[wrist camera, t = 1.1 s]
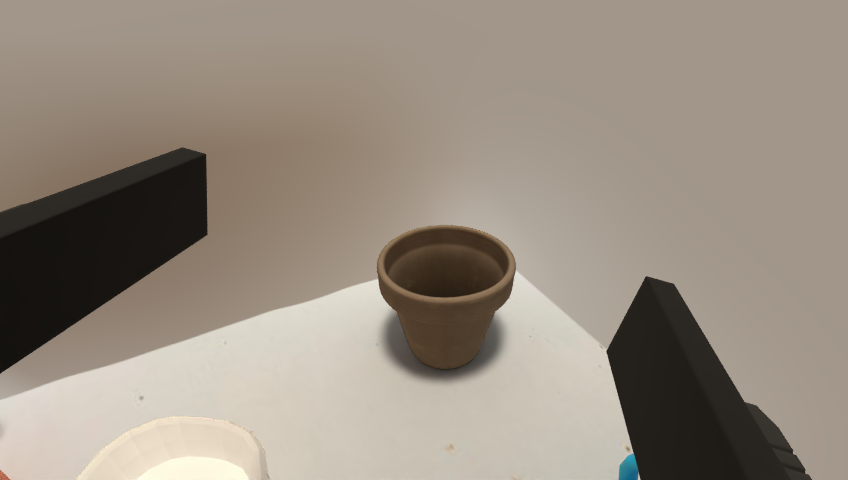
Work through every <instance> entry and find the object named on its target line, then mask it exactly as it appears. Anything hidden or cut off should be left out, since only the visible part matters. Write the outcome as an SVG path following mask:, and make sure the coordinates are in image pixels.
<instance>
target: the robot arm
mask: <svg viewBox="0 0 848 480" xmlns="http://www.w3.org/2000/svg"><path fill="white" fill-rule="evenodd" d="M206 181H207V179H206V154H204V153H200V152H197V151H193V150H190V149H186V148H180V149H177V150H174V151H171V152H169V153H166V154H163V155H160V156H158V157H155V158H152V159H149V160H147V161H144V162H141V163H139V164H135V165H133V166H130V167H127V168H124V169H122V170H119V171H116V172H113V173H111V174H108V175H105V176H102V177H100V178H97V179H94V180H91V181H89V182H86V183H83V184H80V185H77V186H75V187H72V188H69V189H66V190H64V191H61V192H58V193H55V194H53V195H50V196H47V197H44V198H42V199H39V200H36V201H33V202H30V203H27V204H22V205H19V206H16V207H13V208H10V209H8V210H5V211H2V212H0V373H2V372H3V371H5V370H6V369H8V368H9V367H11V366H12V365H14V364H15V363H17V362H18V361H20V360H21V359H23V358H24V357H26V356H27V355H29V354H30V353H32V352H33V351H35V350H36V349H38V348H39V347H41V346H42V345H43V344H45V343H47V342H48V341H50V340H51V339H53V338H54V337H56V336H57V335H58V334H60V333H61V332H63V331H64V330H66V329H67V328H69V327H70V326H72V325H73V324H75V323H76V322H78V321H79V320H81V319H82V318H84V317H85V316H87V315H88V314H90V313H91V312H93V311H94V310H96V309H97V308H99V307H100V306H102V305H103V304H105V303H106V302H108V301H109V300H111V299H112V298H114V297H115V296H117V295H118V294H120V293H121V292H123V291H124V290H126V289H127V288H129V287H130V286H131V285H133V284H135V283H136V282H138V281H139V280H141V279H142V278H144V277H145V276H146V275H148V274H150V273H151V272H152V271H154V270H155V269H157V268H158V267H160V266H161V265H163V264H164V263H166V262H167V261H169V260H170V259H172V258H173V257H175V256H176V255H178V254H179V253H181V252H182V251H184V250H185V249H187V248H188V247H190V246H191V245H193V244H194V243H196V242H197V241H199V240H200V239H202V238H203V237H205V236H206V235H207V186H206V185H207V182H206ZM607 355H608V359H609V363H610V366H611V370H612V374H613V378H614V381H615V385H616V389H617V393H618V396H619V400H620V404H621V408H622V411H623V415H624V419H625V422H626V426H627V430H628V434H629V437H630V441H631V445H632V449H633V452H634V456H635V460H636V464H637V467H638V471H639V475H640V479H641V480H812V479H811V477H810V476H809V475H807V474H805V468H804V467H803V465H802V464H801V462H800V461H799V459H798V457H797V456H796V455H794V454H793V449H792V448H791V447H790V445H789V443H788V442H787V440H786V439H785V437H784V436H783V434H782V432H781V431H780V429H779V428H778V427H777V426H776V425H775V424H774V423H773V422H772V421H771V420H770V419H769V418H768V417H767V416H766V415H765V414H764V413H763V412H762V411H761V410H760V409H759V408H758V407H757V406H756V405H753V404H749V403H746V402H744V400H743V399H742V397H741V395H740V394H739V392H738V391H737V389H736V387H735V385H734V384H733V382H732V380H731V379H730V377H729V375H728V374H727V372H726V370H725V369H724V367H723V365H722V364H721V362H720V361H719V359H718V357H717V355H716V354H715V352H714V350H713V349H712V347H711V345H710V344H709V342H708V340H707V339H706V337H705V335H704V333H703V332H702V330H701V328H700V327H699V325H698V323H697V322H696V320H695V318H694V317H693V315H692V313H691V312H690V310H689V308H688V307H687V305H686V303H685V302H684V300H683V298H682V297H681V295H680V293H679V292H678V290H677V288H676V287H675V285H674V284H672V283H668V282H665V281H661V280H658V279H654V278H651V277H647V276H646V277H645V279H644V281H643V283H642V285H641V287H640V289H639V291H638V292H637V295H636V296H635V298H634V300H633V302H632V304H631V306H630V308H629V309H628V311H627V313H626V315H625V317H624V319H623V321H622V323H621V325H620V327H619V329H618V330H617V332H616V334H615V336H614V338H613V340H612V342H611V344H610V345H609V347H608V349H607Z"/></svg>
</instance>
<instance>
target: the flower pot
mask: <svg viewBox="0 0 848 480" xmlns="http://www.w3.org/2000/svg"><path fill="white" fill-rule="evenodd" d="M515 270H516V263H515V259H514V256H513V254H512V252H511V251H510V249H509V248H508V247H507V246H506V245H505V244H504V243H503V242H501V241H500V240H498V239H497V238H495V237H493V236H492V235H490V234H488V233H485V232H483V231H480V230H476V229H473V228H468V227H463V226H454V225H437V226H427V227H422V228H418V229H414V230H411V231H408V232H406V233H404V234H401V235H400V236H398V237H396V238H395V239H393V240H392V241H390V242H389V243H388V244H387V245H386V246H385V247H384V248H383V250H382V251H381V253H380V255H379V258H378V262H377V273H378V280H379V287H380V291H381V294H382V296H383V298H384V299H385V301H386V302H387V303H388V304H389V305H390V306H391V307H392V308H393V309H394V310H395V311H396V312H397V314H398V317H399V320H400V323H401V326H402V328H403V331H404V334H405V336H406V339H407V341H408V343H409V346H410V348H411V350H412V352H413V354H414V355H415V356H416V357H417V359H418V360H420V361H421V362H422V363H424V364H426V365H428V366H431V367H434V368H439V369H452V368H457V367H460V366H463V365H465V364H467V363H468V362H470V361H471V360H472V359H473V358H474V357H475V355H476V354H477V352H478V350H479V348H480V346H481V344H482V342H483V340H484V338H485V335H486V333H487V331H488V328H489V325H490V323H491V320H492V318H493V315H494V313H495V311H496V310H498V309H499V308H500V307H501V306H502V305H503V304H504V303H505V302H506V301H507V300H508V298H509V296H510V294H511V291H512V286H513V280H514V275H515Z"/></svg>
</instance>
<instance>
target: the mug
mask: <svg viewBox="0 0 848 480" xmlns="http://www.w3.org/2000/svg"><path fill="white" fill-rule="evenodd" d="M638 472H639V471H638V467H637V464H636V460H635V456H634V454H631V455H629V456H628V457H627V458H626V459H625V460H624V461H623V462H622V463H621V465H620V470H619V480H638Z"/></svg>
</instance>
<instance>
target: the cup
mask: <svg viewBox="0 0 848 480" xmlns="http://www.w3.org/2000/svg"><path fill="white" fill-rule="evenodd" d="M75 480H270V478H269V475H268V472H267V465H266V456H265V450H264V448H263V447H262V445H261V444H260V442H259V441H258V439H257V438H256V436H255V435H254V433H253V432H252V431H250V430H248V429H245V428H243V427H241V426H239V425H237V424H234V423H232V422H229V421H223V420H217V419H211V418H204V417H188V416H175V417H168V418H162V419H155V420H153V421H150V422H148V423H145V424H143V425H141V426H138V427H136V428H133V429H131V430H129V431H127V432H125V433H124V434H123V435H121V436H120V437H118V438H117V439H116V440H114V441H113V442H111V443H110V444H109V445H107V446H106V447H104V448H103V449H102V450H101V451H100V452H99V453H98V455H97V456H96V457H95V458H94V459H93V460H92V461H91V462H90V463H89V464H88V466H87V467H86V468H85V469H84V470H83V471H82V472H81V473H80V474H79V476H78V477H77V478H76V479H75Z"/></svg>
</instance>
